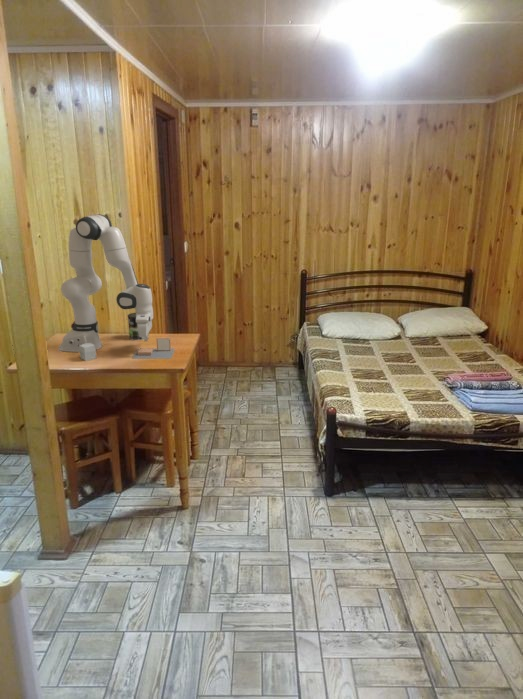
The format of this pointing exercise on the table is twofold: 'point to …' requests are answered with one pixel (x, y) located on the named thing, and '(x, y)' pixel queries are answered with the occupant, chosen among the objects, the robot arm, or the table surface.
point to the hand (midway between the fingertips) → (146, 340)
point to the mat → (155, 355)
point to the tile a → (145, 351)
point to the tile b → (163, 344)
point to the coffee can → (133, 327)
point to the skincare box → (87, 351)
